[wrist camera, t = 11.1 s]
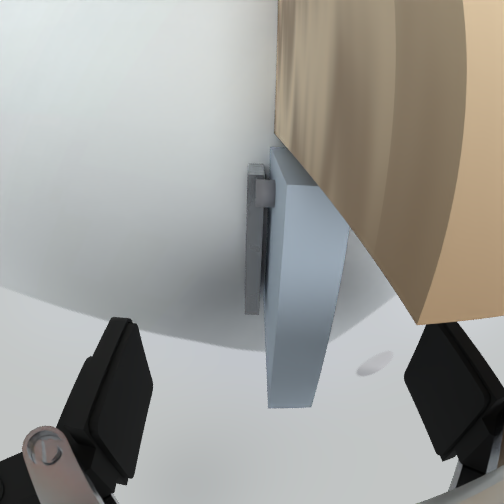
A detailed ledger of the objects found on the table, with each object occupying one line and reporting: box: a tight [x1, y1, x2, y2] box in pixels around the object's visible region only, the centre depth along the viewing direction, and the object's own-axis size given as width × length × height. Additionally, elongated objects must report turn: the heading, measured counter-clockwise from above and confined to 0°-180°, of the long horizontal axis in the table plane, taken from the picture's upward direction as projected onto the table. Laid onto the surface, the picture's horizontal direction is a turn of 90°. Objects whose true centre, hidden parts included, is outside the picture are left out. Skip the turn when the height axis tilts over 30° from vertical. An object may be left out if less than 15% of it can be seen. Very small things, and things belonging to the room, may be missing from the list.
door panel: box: [255, 147, 350, 408], centre depth 15 cm, size 10×3×9 cm, turn 179°
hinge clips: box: [245, 164, 265, 315], centre depth 17 cm, size 8×5×3 cm, turn 178°
